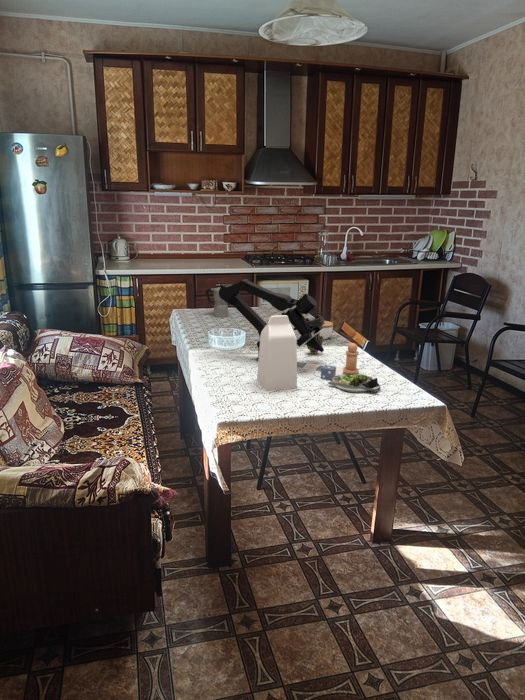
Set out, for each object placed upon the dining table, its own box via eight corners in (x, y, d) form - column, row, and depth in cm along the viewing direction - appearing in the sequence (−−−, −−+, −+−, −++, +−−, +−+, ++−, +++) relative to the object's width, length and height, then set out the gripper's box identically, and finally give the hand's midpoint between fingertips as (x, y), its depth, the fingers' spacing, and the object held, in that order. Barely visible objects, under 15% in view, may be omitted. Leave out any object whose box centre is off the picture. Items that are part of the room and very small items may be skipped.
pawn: (348, 375, 211) (351, 345, 207) (339, 371, 216) (342, 341, 213) (361, 374, 214) (363, 344, 210) (352, 369, 219) (354, 340, 215)
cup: (321, 357, 235) (322, 339, 232) (304, 355, 236) (305, 338, 234) (322, 352, 242) (324, 335, 239) (306, 350, 243) (307, 333, 241)
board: (289, 366, 221) (289, 366, 220) (294, 361, 227) (294, 361, 227) (355, 376, 211) (355, 376, 211) (359, 371, 217) (359, 371, 217)
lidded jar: (315, 341, 258) (316, 322, 255) (306, 336, 268) (308, 317, 265) (335, 340, 261) (337, 321, 259) (326, 334, 271) (327, 316, 268)
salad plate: (332, 395, 192) (333, 383, 190) (322, 378, 209) (323, 367, 208) (384, 395, 194) (386, 383, 192) (370, 378, 211) (372, 367, 209)
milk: (265, 390, 194) (268, 320, 186) (256, 379, 204) (259, 312, 197) (296, 388, 197) (300, 319, 189) (286, 377, 207) (290, 311, 200)
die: (320, 379, 207) (321, 367, 206) (324, 375, 211) (324, 364, 210) (331, 381, 206) (332, 369, 204) (335, 377, 210) (336, 366, 208)
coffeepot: (230, 313, 310) (231, 282, 305) (233, 317, 301) (234, 285, 296) (204, 313, 307) (204, 282, 302) (206, 317, 298) (206, 285, 293)
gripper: (306, 313, 206) (331, 345, 205) (319, 305, 222) (343, 334, 222) (285, 331, 211) (310, 362, 210) (300, 321, 227) (323, 350, 227)
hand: (322, 351), depth 217 cm, fingers closed
